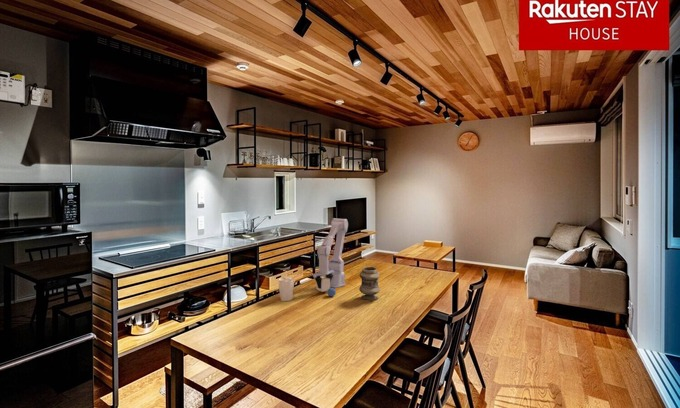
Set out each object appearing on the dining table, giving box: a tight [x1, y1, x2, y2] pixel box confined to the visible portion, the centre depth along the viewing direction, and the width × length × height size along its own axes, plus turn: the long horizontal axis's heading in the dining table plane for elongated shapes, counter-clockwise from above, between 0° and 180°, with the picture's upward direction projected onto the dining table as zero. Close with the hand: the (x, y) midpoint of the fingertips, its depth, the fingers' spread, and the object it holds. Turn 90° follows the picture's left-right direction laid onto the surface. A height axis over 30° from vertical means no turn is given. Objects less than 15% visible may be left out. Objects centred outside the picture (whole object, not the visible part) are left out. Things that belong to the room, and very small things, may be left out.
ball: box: [326, 287, 337, 297], centre depth 208 cm, size 5×5×5 cm
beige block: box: [315, 276, 331, 293], centre depth 215 cm, size 6×6×7 cm
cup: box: [278, 276, 295, 302], centre depth 203 cm, size 9×9×12 cm
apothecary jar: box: [358, 266, 381, 302], centre depth 204 cm, size 12×12×18 cm
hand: (323, 287), depth 215 cm, fingers closed on beige block, 6 cm apart
